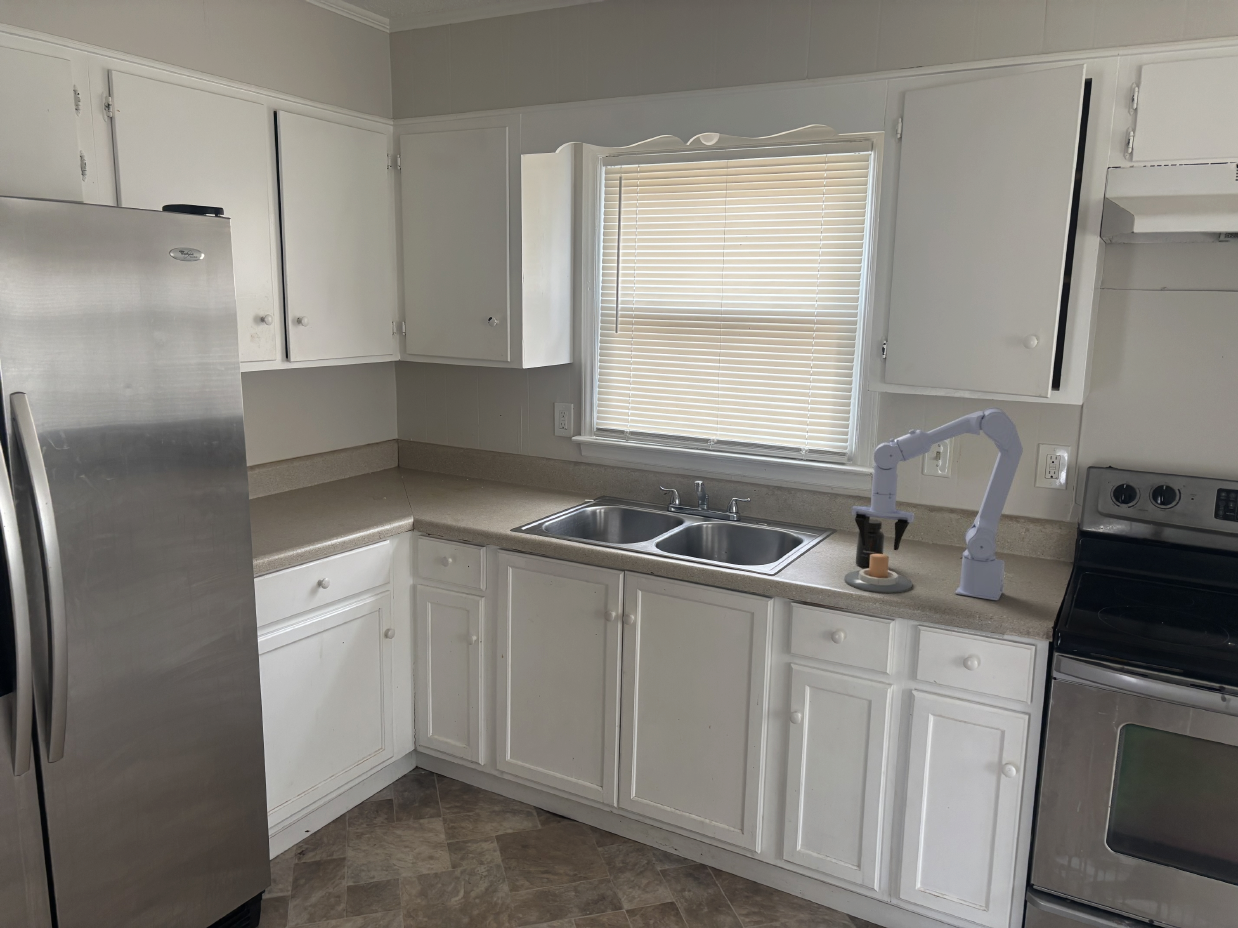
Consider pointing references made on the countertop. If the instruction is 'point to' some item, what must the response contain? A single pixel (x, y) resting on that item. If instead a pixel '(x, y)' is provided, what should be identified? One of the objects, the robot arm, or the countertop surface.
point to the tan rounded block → (878, 565)
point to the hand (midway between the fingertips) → (880, 546)
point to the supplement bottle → (870, 544)
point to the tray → (878, 588)
